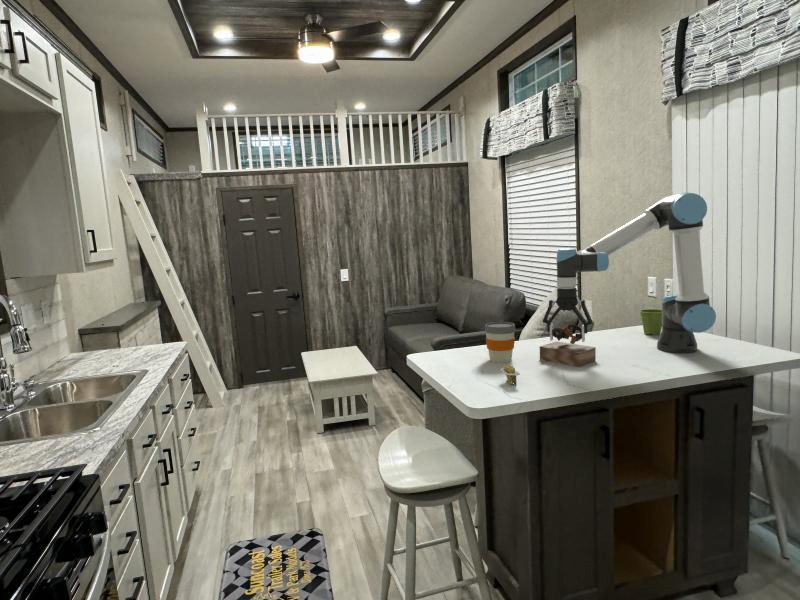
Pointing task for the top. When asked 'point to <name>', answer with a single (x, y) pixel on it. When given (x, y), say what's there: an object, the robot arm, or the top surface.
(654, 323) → the plant pot
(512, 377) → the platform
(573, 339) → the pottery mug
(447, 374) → the top surface
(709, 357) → the top surface
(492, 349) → the reusable coffee cup
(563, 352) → the walnut box
